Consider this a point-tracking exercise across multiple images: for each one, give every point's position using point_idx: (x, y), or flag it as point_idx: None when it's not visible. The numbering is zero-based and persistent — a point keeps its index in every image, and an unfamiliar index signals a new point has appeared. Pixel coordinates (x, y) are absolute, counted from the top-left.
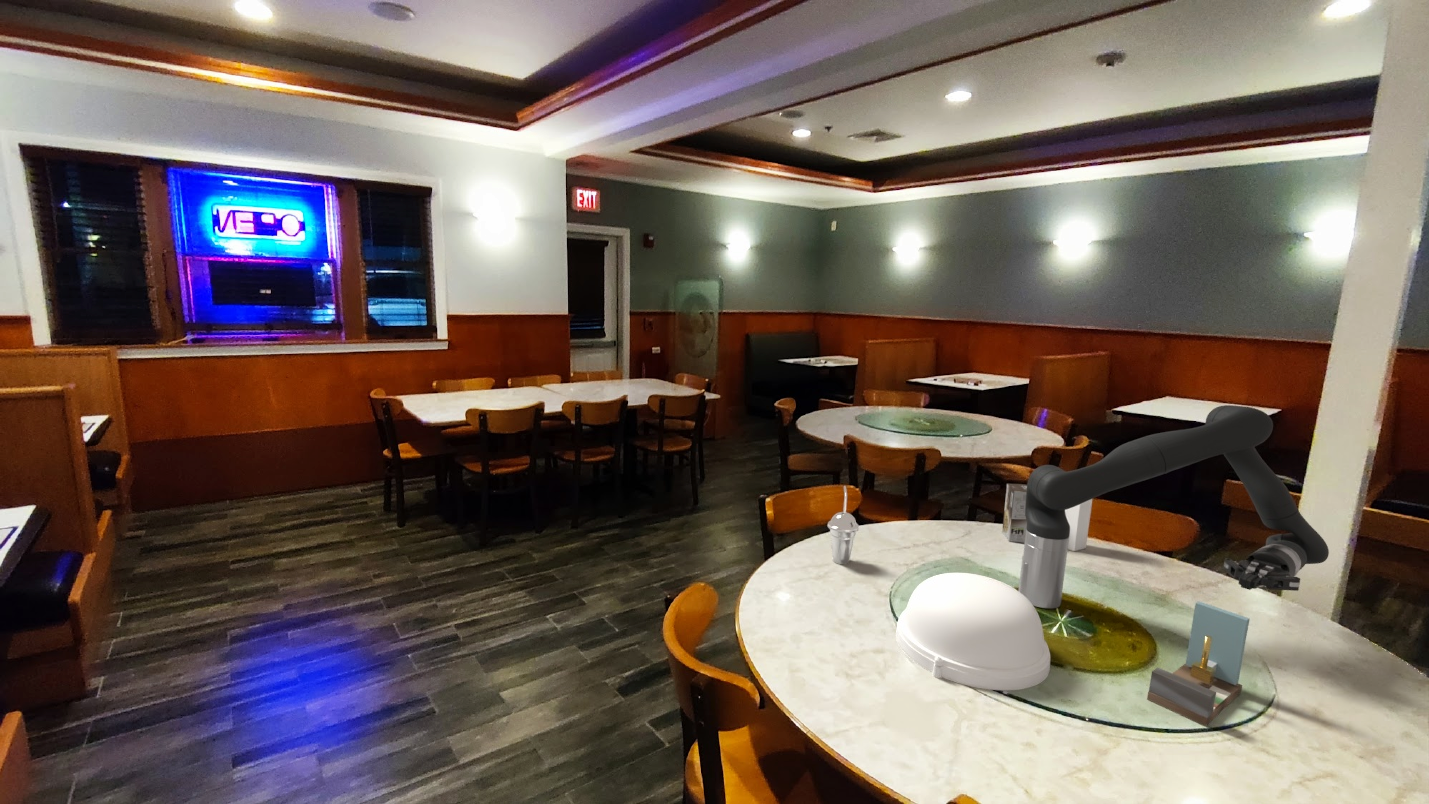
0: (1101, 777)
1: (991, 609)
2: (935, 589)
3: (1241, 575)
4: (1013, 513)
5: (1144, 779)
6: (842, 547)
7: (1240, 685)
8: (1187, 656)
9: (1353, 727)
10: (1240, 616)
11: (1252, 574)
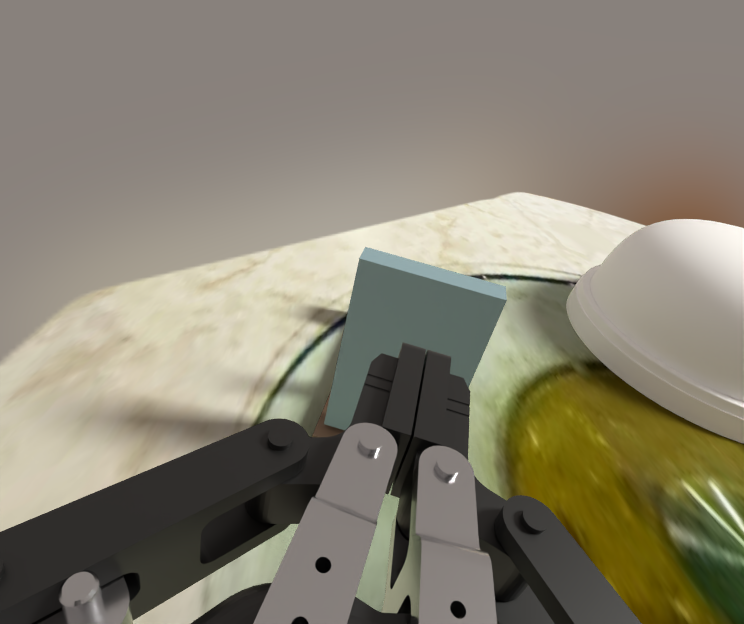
0: (432, 223)
1: (681, 220)
2: None
3: (468, 422)
4: None
5: (402, 229)
6: None
7: (317, 430)
8: None
9: (68, 434)
10: (383, 260)
11: (414, 433)
